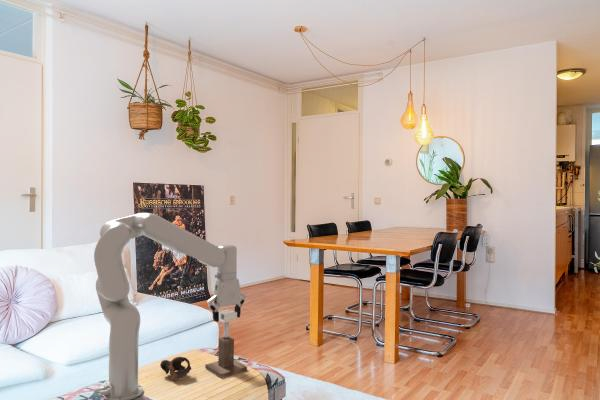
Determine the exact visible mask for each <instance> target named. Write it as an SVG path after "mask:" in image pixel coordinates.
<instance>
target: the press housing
mask: <svg viewBox="0 0 600 400" xmlns="http://www.w3.org/2000/svg"><path fill="white" fill-rule="evenodd" d="M217 359H218V361H215V362H214V361H213V362H210V363H207V364H205V365H204V368H206V370H207V371H208V372H210V373H211V374H213V375H214V376H216V377H218V378H219V379H223V378H226V377H228V376H229V377H230V376H232V375H236V374H239V373H244V372H246V371H248V367H247V366H246V365H245V364H243V363H241V362H240V361H237V360H236V359H235V338H234V337H232V336H230V335H229V339H227V340H224V336H221V337H218V358H217Z"/></svg>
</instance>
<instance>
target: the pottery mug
mask: <svg viewBox="0 0 600 400" xmlns="http://www.w3.org/2000/svg"><path fill="white" fill-rule="evenodd" d="M184 362H186V363H187V366H184V365H182V363H184ZM160 368H161V369H162V371H163V372H165V374H166V375H168V374H170V373H171V374H172V375H171V381H173V382H176V381H177V380H179V379H182V378H183V377H185V376H188V374H190V371H191V370H192V366H191V362H190V360H189V359H188V358H186V357H184V356H176V357H174V358H172V359H171V360H168V359H164V360H161V361H160Z"/></svg>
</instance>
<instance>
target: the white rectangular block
mask: <svg viewBox="0 0 600 400" xmlns="http://www.w3.org/2000/svg"><path fill="white" fill-rule="evenodd" d="M218 312H219V321H220V322H221V323H223V337H224V340H227V339H229V336H230V322H233V321H237V320H238V317H237V312H235V310H232V309H230V308H229V309H225V310H224V309H222V310H218ZM219 321H218V322H219Z"/></svg>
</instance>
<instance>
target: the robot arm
mask: <svg viewBox="0 0 600 400" xmlns="http://www.w3.org/2000/svg"><path fill="white" fill-rule="evenodd" d="M99 230H100V231H99V235H100V238H99V240H98V241H97V243H96V245H95V248H94V253H93V260H94V265H95V268H96V273H97V279H96V281H95V291H96V295H97V297H98V301H99V304H100V308H101V310H102V314H103V317H104V318H105V321H106V322H107V323H108V324H109V326H110V328H109V329H110V330H109V339H108V381H105V384H104V385H103V386H101V387H96V388H93V395H94V396H96V395H99V396H100V397H101V396H103V399H104V400H133V399H136V398H138V397H140V396H141V395H142V394H143V391H144V390H143V388H144V387H143V386H142V385H141V384H139V338H140V336H139V335H140V328H141V327H140V326H141V313H140V311H139V309H138V308H137V307H136V305H134V304H132V302H130V300H129V294H130V289H131V287H130V283H129V279H128V276H127V274H126V273H127V272H126V271H125V266H124V263H123V251H124V248H125V247H126V246H127V245H128V243H130V241H131V240H132V239H135V238H138V237H141V236H144V237H146V238H147V239H151V240H153V241H155V242H156V243H158V244H160V245H162V246H164V247H166V248H169V249H170V250H172V251H174V252H177V253H179V254H183V255H186V256H189V257H191V258H194V259H196V260H197V261H198V262H199V263H201V264H203V265H206V266H209V267H211V268H217V272H216V274H215V275H214V278H215V279H216V280H215V284H214V290H213V291H214V292H213V296H211V298H209V299H208V300H207V301H206V304H207V306H208V308H209V309H210V310H211V311H212V321H214V322H216V323H219V312H218V311H219V309H220V308H221V307H222V308H223V307H224V308H225V307H229V306H234V311H235V312H237V319H238V318H240V317H241V313H242V312H241V310H242V309H241V308H242V307H243V304H244V303H245V300H246V298H247V295H246V294H244V293H242V292H241V284H240V280H239V278H238V276H237V275H238V274H237V273H238V272H237V271H238V270H237V268H238V267H237V264H238V263H237V262H238V261H237V255H238V250H237V248H238V247H236V246H235V245H233V244H221V245H215V244H213V243H212V242H209V241H207V240H205V239H203V238H201V237H200V236H197V235H196V234H194V233H192V232H190V231H188V230H186V229H184V228H182V227H180V226H179V225H177V224H175V223H173V222H171V221H169V220H167V219H165V218H164V217H161V216H159V215H158V214H155V213H153V212H139V213H136V214H133V215H128V216H125V217H121V218H116V219H112V220H110V221H107V222H104V224H103V225H102V226H101V228H100V229H99ZM213 303H214V304H213Z"/></svg>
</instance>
